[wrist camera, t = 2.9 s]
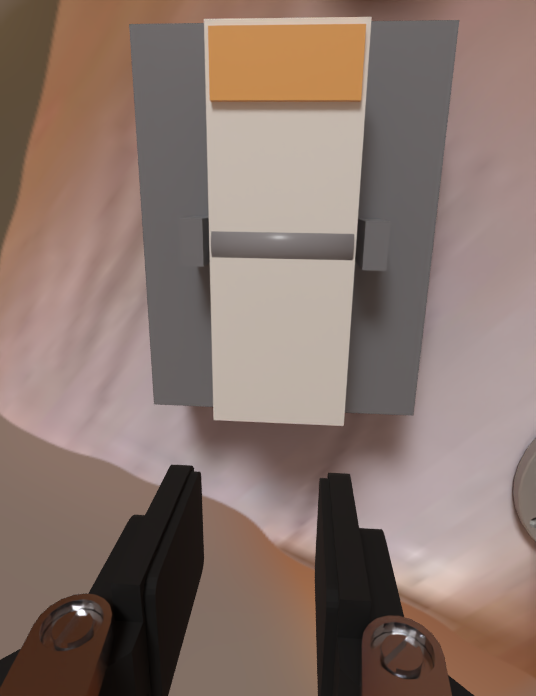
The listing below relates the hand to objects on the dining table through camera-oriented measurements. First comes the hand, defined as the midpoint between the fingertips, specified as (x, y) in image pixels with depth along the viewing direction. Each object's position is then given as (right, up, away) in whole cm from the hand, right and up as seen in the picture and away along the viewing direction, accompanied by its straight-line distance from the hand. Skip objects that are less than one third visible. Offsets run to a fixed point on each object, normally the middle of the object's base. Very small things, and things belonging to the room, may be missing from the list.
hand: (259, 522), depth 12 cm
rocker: (+1, +9, +8) cm, 12 cm away
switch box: (+1, +11, +16) cm, 20 cm away
